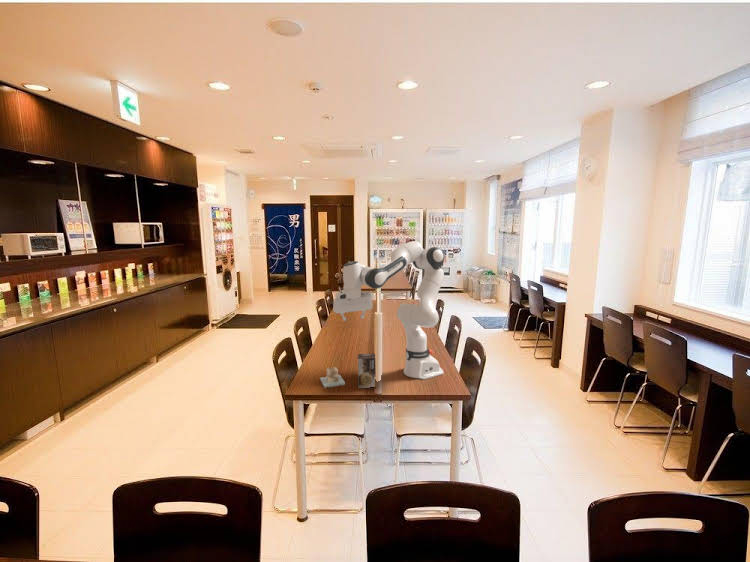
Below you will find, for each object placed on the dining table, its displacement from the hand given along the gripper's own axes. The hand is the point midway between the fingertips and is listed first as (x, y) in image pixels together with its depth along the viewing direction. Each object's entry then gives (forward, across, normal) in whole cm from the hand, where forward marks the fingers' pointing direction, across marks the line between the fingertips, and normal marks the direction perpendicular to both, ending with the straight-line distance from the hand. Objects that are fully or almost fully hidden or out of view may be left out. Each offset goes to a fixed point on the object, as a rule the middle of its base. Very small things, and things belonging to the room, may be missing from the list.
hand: (353, 319), depth 182 cm
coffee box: (+34, -4, +7) cm, 35 cm away
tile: (+34, +12, -3) cm, 36 cm away
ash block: (+33, +12, -3) cm, 35 cm away
